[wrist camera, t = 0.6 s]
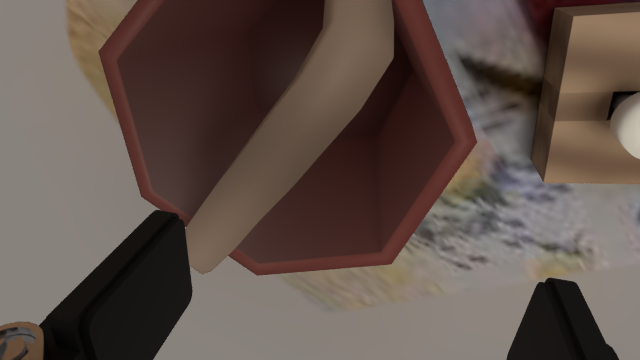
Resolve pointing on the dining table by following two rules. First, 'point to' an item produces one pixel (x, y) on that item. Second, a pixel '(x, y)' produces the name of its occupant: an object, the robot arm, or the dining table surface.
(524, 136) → the dining table surface
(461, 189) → the dining table surface
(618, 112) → the ivory knob
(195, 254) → the bucket
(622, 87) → the tan flat board
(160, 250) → the robot arm
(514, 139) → the dining table surface
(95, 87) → the dining table surface
